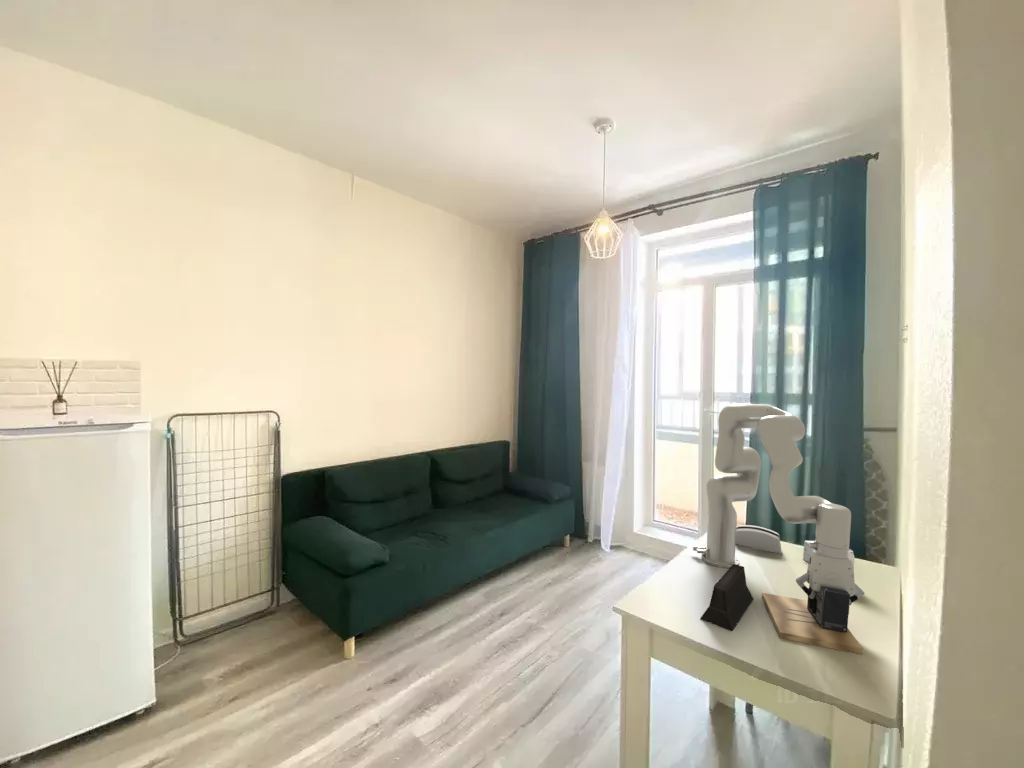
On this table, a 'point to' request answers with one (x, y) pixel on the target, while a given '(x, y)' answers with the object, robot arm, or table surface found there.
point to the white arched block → (758, 538)
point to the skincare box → (807, 550)
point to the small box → (832, 609)
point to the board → (805, 625)
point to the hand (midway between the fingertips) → (827, 613)
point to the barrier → (729, 599)
